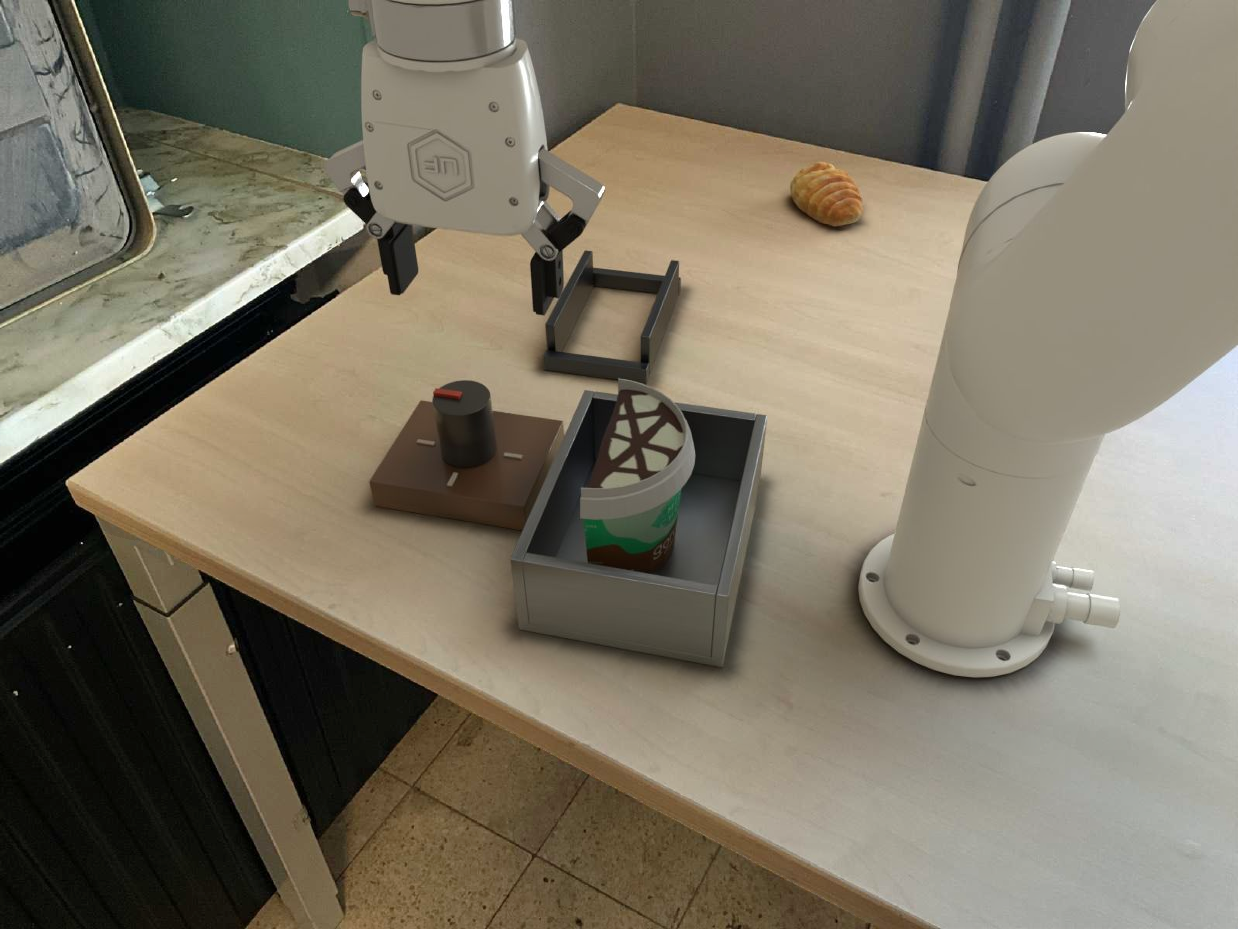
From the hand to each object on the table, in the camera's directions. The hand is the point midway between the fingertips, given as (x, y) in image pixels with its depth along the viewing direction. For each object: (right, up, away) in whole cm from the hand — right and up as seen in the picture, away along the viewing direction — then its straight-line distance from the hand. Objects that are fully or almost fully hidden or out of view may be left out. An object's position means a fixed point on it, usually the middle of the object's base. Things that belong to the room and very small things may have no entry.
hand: (474, 293), depth 65 cm
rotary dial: (-2, -12, +12) cm, 17 cm away
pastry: (+32, +17, +45) cm, 58 cm away
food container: (+11, -17, +6) cm, 21 cm away
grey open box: (+11, -17, +6) cm, 22 cm away
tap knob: (-2, -10, +11) cm, 15 cm away
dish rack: (+9, +1, +27) cm, 29 cm away
